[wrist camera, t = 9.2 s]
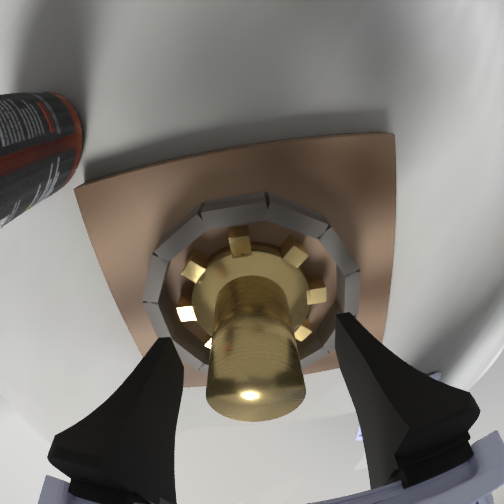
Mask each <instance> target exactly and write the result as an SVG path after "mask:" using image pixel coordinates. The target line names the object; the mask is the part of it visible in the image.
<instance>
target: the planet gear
mask: <svg viewBox="0 0 504 504" xmlns="http://www.w3.org/2000/svg"><path fill="white" fill-rule="evenodd" d="M228 239H229V244H230V245H228V246H226V247H224V248H222V249H220V250H218V251H216V252H215V253H213V254H212V255H211V256H210V257H209V258H208V257H206V256H205V255H203V254H201V253H200V252H198V251H197V250H195V249H194V250H193V252H192V253H191V254H190V256H189V257H188V259H187V260H186V262H185V264H184V267H183V270H182V273H181V274H182V275H183V276H185V277H187V278H188V279H190V280H192V281H193V282H195V285H194V289H193V293H190V294H182V295H180V298H179V301H178V305H177V311H178V314H179V316H180V319H181V321H190V320H197V322H198V323H199V325H200V326H201V327H202V328H203V330H204V331H206V339H205V346H206V347H208V348H210V357H209V367H208V377H207V388H206V399H207V402H208V403H209V405H210V406H211V407H212V408H213V409H214V410H215V411H216V412H218V413H219V414H221V415H223V416H226V417H228V418H231V419H235V420H240V421H250V422H257V421H266V420H272V419H276V418H279V417H282V416H284V415H286V414H288V413H290V412H292V411H293V410H295V409H296V408H297V407H298V406H299V405H300V404H301V403H302V402H303V400H304V398H305V395H306V388H305V383H304V378H303V373H302V368H301V363H300V358H299V353H298V348H297V343H296V339H298V340H300V341H301V342H302V341H303V340H304V339H305V338H306V337H307V336H308V335H309V334H310V333H311V332H312V328H311V325H310V321H309V318H308V317H307V315H308V312H309V310H310V305H311V304H316V303H322V302H326V286H325V283H324V281H323V279H322V276H321V275H317V276H311V277H305V274H304V271H303V269H302V267H301V266H300V265H301V264H302V263H303V262H304V260H305V259H306V258H307V257H308V256H309V255H308V253H307V251H306V248H305V246H304V244H302V243H301V242H300V241H298V240H297V239H295V238H294V237H293V236H291V235H289V237H288V238H287V239H286V240H285V241H284V242H283V244H282V245H281V246H280V247H277V246H275V245H272V244H269V243H265V242H258V241H251V239H250V233H249V227H248V225H247V226H241V227H234V228H229V238H228ZM295 338H296V339H295Z"/></svg>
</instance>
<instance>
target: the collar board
mask: <svg viewBox="0 0 504 504" xmlns="http://www.w3.org/2000/svg"><path fill="white" fill-rule="evenodd" d="M74 192H75V195H76V199H77V202H78V205H79V208H80V212H81V215H82V218H83V221H84V224H85V227H86V229H87V232H88V235H89V238H90V241H91V243H92V246H93V249H94V251H95V254H96V257H97V259H98V262H99V264H100V267H101V269H102V272H103V274H104V277H105V279H106V281H107V284H108V286H109V288H110V291H111V293H112V295H113V297H114V300H115V302H116V304H117V306H118V308H119V311H120V313H121V315H122V317H123V319H124V321H125V323H126V325H127V327H128V329H129V331H130V333H131V335H132V337H133V339H134V341H135V343H136V345H137V347H138V349H139V351H140V352H141V354H142V356H143V357H144V356H145V355H146V353H147V352H148V351H149V349H150V348H151V347H152V345H153V344H154V343H155V341H156V340H157V339H158V338H162V337H171V339H172V341H173V343H174V346H175V348H176V350H177V352H178V355H179V357H180V359H181V361H182V363H183V366H184V383H183V387H198V386H207V377H208V367H209V357H210V348H208V347H206V346H205V339H206V331H204V330H203V328H202V327H201V326H200V325H199V323H198V322H197V320H190V321H181V319H180V316H179V314H178V311H177V305H178V301H179V298H180V295H182V294H190V293H193V289H194V285H195V282H193V281H192V280H190V279H188V278H187V277H185V276H183V275H182V274H181V273H182V270H183V267H184V264H185V262H186V260H187V259H188V257H189V256H190V254H191V253H192V252H193V250H194V249H195V250H197V251H198V252H200V253H201V254H203V255H205V256H206V257H208V258H209V257H210V256H211V255H212V254H213V253H215V252H216V251H218V250H220V249H222V248H224V247H226V246H228V245H230V244H229V239H228V238H229V228H234V227H241V226H247V225H248V227H249V233H250V239H251V241H258V242H265V243H269V244H272V245H275V246H277V247H280V246H281V245H282V244H283V242H284V241H285V240H286V239H287V238H288V237H289V235H291V236H293V237H294V238H295V239H297V240H298V241H300V242H301V243H302V244H304V246H305V248H306V251H307V253H308V255H309V256H308V257H307V258H306V259H305V260H304V262H303V263H302V264H301V265H300V266H301V267H302V269H303V271H304V274H305V277H311V276H317V275H321V276H322V279H323V281H324V283H325V286H326V302H322V303H316V304H311V305H310V310H309V312H308V315H307V317H308V318H309V321H310V325H311V328H312V332H311V333H310V334H309V335H308V336H307V337H306V338H305V339H304V340H303V341H302V342H301V341H300V340H298V339H296V338H295V339H296V343H297V348H298V353H299V358H300V363H301V368H302V373H303V375H304V374H310V373H315V372H321V371H326V370H331V369H336V368H340V367H339V363H338V359H337V355H336V351H335V323H336V314H341V313H346V312H350V313H351V314H352V315H353V316H354V317H355V318H356V319H357V320H358V321H359V322H360V323H361V324H362V325H363V326H364V327H365V328H366V329H367V330H368V331H369V332H370V333H371V334H372V335H373V336H374V337H375V338H376V339H377V340H378V341H380V342H381V343H382V341H383V335H384V329H385V323H386V316H387V309H388V302H389V294H390V285H391V276H392V266H393V254H394V239H395V219H396V155H395V135H394V134H391V133H386V132H369V133H350V134H336V135H324V136H313V137H303V138H294V139H286V140H278V141H270V142H263V143H256V144H250V145H243V146H237V147H231V148H225V149H220V150H214V151H209V152H204V153H199V154H194V155H189V156H184V157H180V158H175V159H171V160H166V161H162V162H158V163H154V164H150V165H146V166H142V167H138V168H134V169H130V170H126V171H123V172H119V173H116V174H112V175H109V176H105V177H102V178H98V179H95V180H92V181H89V182H85V183H83V184H81V185H80V186H78V187H76V188H74Z"/></svg>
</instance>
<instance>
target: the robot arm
mask: <svg viewBox="0 0 504 504" xmlns="http://www.w3.org/2000/svg"><path fill="white" fill-rule="evenodd" d="M335 351H336V355H337V359H338V363H339V367H340V370H341V372H342V375H343V377H344V380H345V383H346V385H347V388H348V390H349V393H350V396H351V398H352V401H353V404H354V406H355V409H356V413H357V416H358V420H359V425H358V429H357V433H356V437H355V438H356V440H357V441H359V440H363V443H364V448H365V453H366V459H367V465H368V471H369V478H370V486H371V490H368V491H364V492H361V493H357V494H353V495H349V496H345V497H340V498H336V499H331V500H326V501H321V502H315V503H309V504H494V502H493V496H492V493H491V492H493V491H494V490H496V489H497V488H499V487H500V486H502V485H503V484H504V443H503V441H502V439H501V437H500V435H499V433H498V431H494V432H492V433H490V434H489V435H487V436H485V437H484V438H482V439H480V440H478V441H477V442H475V443H474V444H472V445H471V446H470V444H469V442H468V440H470V435H469V433H468V430H469V429H470V428H471V426H472V425H473V424H474V423H475V421H476V420H477V418H478V416H479V414H480V409H479V407H478V405H477V403H476V401H475V399H474V398H473V397H472V395H471V394H470V392H467V391H464V390H461V389H458V388H455V387H452V386H449V385H447V384H444V383H442V382H440V381H439V380H440V378H441V374H440V373H439V372H438V373H435V374H432V375H429V376H428V375H426V374H424V373H422V372H420V371H418V370H417V369H415V368H413V367H412V366H410V365H409V364H407V363H406V362H404V361H403V360H402V359H400V358H399V357H398V356H396V355H395V354H394V353H392V352H391V351H390V350H389V349H388V348H386V347H385V346H384V345H383V344H382V343H381V342H380V341H378V340H377V339H376V338H375V337H374V336H373V335H372V334H371V333H370V332H369V331H368V330H367V329H366V328H365V327H364V326H363V325H362V324H361V323H360V322H359V321H358V320H357V319H356V318H355V317H354V316H353V315H352V314H351V313H350V312H346V313H341V314H336V323H335ZM183 383H184V366H183V363H182V361H181V359H180V357H179V355H178V352H177V350H176V348H175V346H174V343H173V341H172V339H171V337H162V338H158V339H157V340H156V341H155V343H154V344H153V345H152V347H151V348H150V349H149V351H148V352H147V353H146V355H145V356H144V357H143V359H142V360H141V361H140V363H139V364H138V365H137V367H136V368H135V369H134V371H133V372H132V373H131V374H130V375H129V376H128V378H127V379H126V380H125V381H124V382H123V384H122V385H121V386H120V387H119V388H118V389H117V390H116V391H115V392H114V393H113V394H112V395H111V396H110V397H109V398H108V399H107V400H106V401H105V402H104V403H103V404H102V405H100V406H99V407H98V408H97V409H96V410H94V411H93V412H92V413H91V414H89V415H88V416H87V417H85V418H84V419H82V420H81V421H79V422H78V423H76V424H75V425H73V426H72V427H70V428H68V429H66V430H64V431H63V432H61V433H59V434H57V435H55V437H54V440H53V442H52V445H51V448H50V451H49V454H48V457H47V458H48V460H49V462H50V463H51V464H52V465H53V466H55V467H56V468H57V469H59V470H60V471H61V472H63V473H64V474H65V475H67V476H68V477H70V478H71V482H70V483H68V482H66V481H63V480H60V479H57V478H55V477H52V476H49V475H46V477H45V481H44V484H43V487H42V491H41V494H40V498H39V501H38V504H177V503H176V492H175V478H174V476H175V475H174V447H175V431H176V424H177V419H178V413H179V408H180V402H181V397H182V391H183Z"/></svg>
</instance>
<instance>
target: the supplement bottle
mask: <svg viewBox="0 0 504 504" xmlns="http://www.w3.org/2000/svg"><path fill="white" fill-rule="evenodd" d="M82 141H83V140H82V127H81V123H80V120H79V117H78V115H77V113H76V111H75V109H74V108H73V106H72V105H71V104H70V102H69V101H68V100H66V99H65V98H64V97H62V96H61V95H59V94H56V93H51V92H27V93H13V94H4V95H0V228H2V227H3V226H4V225H6V224H7V223H9V222H10V221H12V220H13V219H14V218H16V217H17V216H19V215H20V214H22V213H23V212H25V211H27V210H28V209H30V208H31V207H33V206H34V205H36V204H38V203H39V202H41V201H42V200H44V199H45V198H47V197H49V196H51V195H52V194H54V193H55V192H57V191H58V190H59V189H61V188H62V187H64V186H65V185H66V184H67V182H68V181H69V180H70V179H71V177H72V176H73V175H74V173H75V171H76V169H77V167H78V164H79V161H80V157H81V153H82Z"/></svg>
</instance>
